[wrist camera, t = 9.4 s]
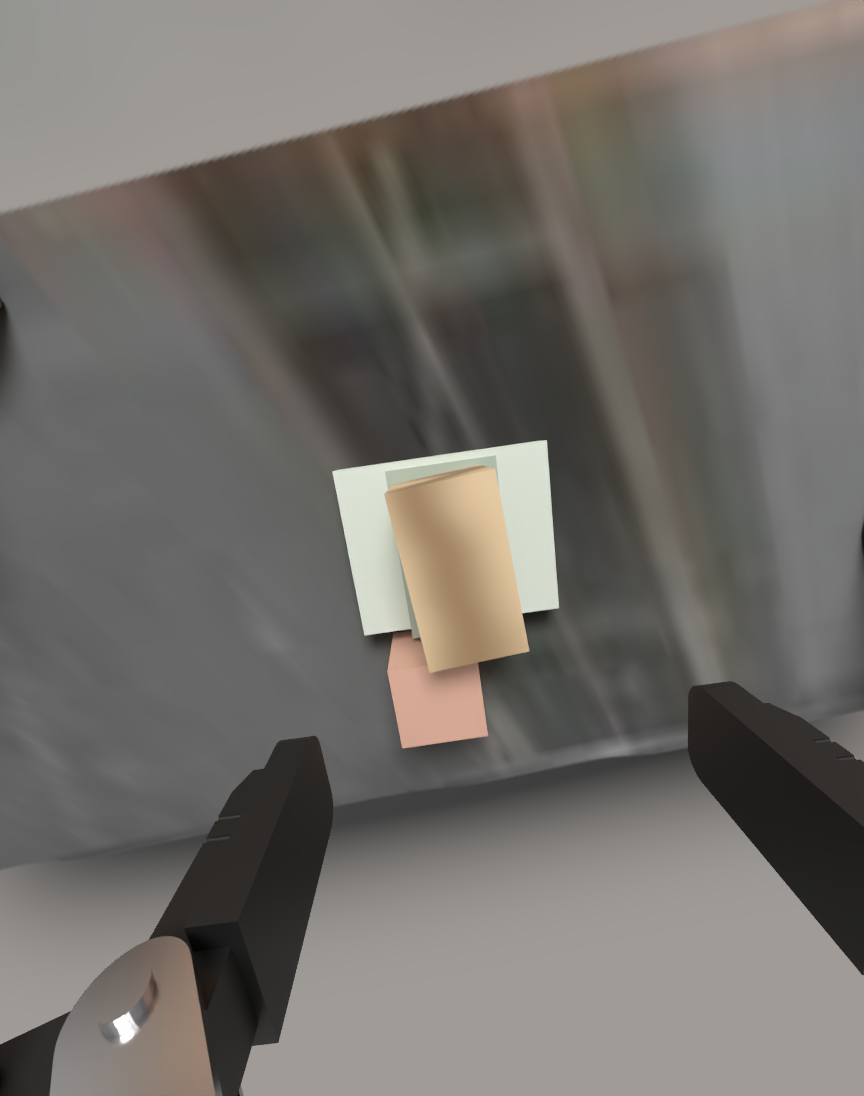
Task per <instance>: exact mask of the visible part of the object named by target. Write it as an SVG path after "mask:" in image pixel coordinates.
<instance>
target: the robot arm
mask: <svg viewBox="0 0 864 1096" xmlns="http://www.w3.org/2000/svg"><path fill="white" fill-rule="evenodd" d="M688 751H689V756H690V760H691V763H692V765H693V768H694V770H695V772H696V774H697V776H698V777H699V779H700V780H701V782H702V783H703V784H704V785H705V787H706V788H707V789H708V790H709V791H710V793H711V794H712V795H713V796H714V797H715V799H716V800H717V801H718V802H719V803H720V804H721V806H722V807H723V808H724V809H725V810H726V812H727V813H728V814H729V815H730V816H731V818H732V819H733V820H734V821H735V823H736V824H737V825H738V826H739V827H740V829H741V830H742V831H743V832H744V833H745V835H746V836H747V837H748V838H749V839H750V841H751V842H752V843H753V844H754V845H755V847H756V848H757V849H758V850H759V851H760V853H761V854H762V855H763V856H764V857H765V858H766V860H767V861H768V862H769V863H770V865H771V866H772V867H773V868H774V869H775V870H776V872H777V873H778V874H779V875H780V877H781V878H782V879H783V880H784V881H785V883H786V884H787V885H788V886H789V887H790V889H791V890H792V891H793V892H794V893H795V895H796V896H797V897H798V898H799V899H800V901H801V902H802V903H803V904H804V905H805V907H806V908H807V909H808V910H809V911H810V913H811V914H812V915H813V916H814V917H815V919H816V920H817V921H818V922H819V923H820V925H821V926H822V927H823V928H824V929H825V931H826V932H827V933H828V934H829V935H830V936H831V938H832V939H833V940H834V941H835V943H836V944H837V945H838V946H839V947H840V949H841V950H842V951H843V952H844V953H845V955H846V956H847V957H848V958H849V959H850V961H851V962H852V963H853V964H854V965H855V967H856V968H857V969H858V970H859V971H860V973H861V974H862V975H864V762H863V761H861V760H856V759H855V758H854V755H853V754H851V753H850V752H849V751H847V750H846V749H844V748H843V747H842V746H840V745H839V744H837V743H836V742H831V741H830V739H829V737H828V736H826V735H825V734H823V733H822V732H821V731H819V730H818V729H816V728H815V727H814V726H812V725H811V724H809V723H808V722H806V721H805V720H804V719H802V718H801V717H798V716H796V715H794V714H792V713H789V712H787V711H785V710H783V709H781V708H778V707H776V706H774V705H772V704H769V703H762V702H761V701H760V700H758V699H757V698H756V697H754V696H753V695H752V694H750V693H749V692H748V691H746V690H745V689H744V688H742V687H741V686H740V685H738V684H736V683H734V682H731V681H729V682H721V683H714V684H706V685H699V686H693V687H692V688H691V689H690V691H689V696H688ZM218 817H219V819H218V821H216V822H215V823H214V825H213V827H212V829H211V831H210V832H209V834H208V836H207V841H206V843H203V845H202V847H201V848H200V850H199V852H198V854H197V855H196V857H195V859H194V861H193V863H192V864H191V866H190V868H189V870H188V871H187V873H186V875H185V877H184V879H183V880H182V882H181V884H180V886H179V887H178V889H177V891H176V893H175V895H174V896H173V898H172V900H171V902H170V903H169V905H168V907H167V909H166V910H165V912H164V914H163V916H162V918H161V919H160V921H159V923H158V925H157V926H156V928H155V930H154V932H153V934H152V935H151V937H150V939H149V940H147V941H145V942H143V943H141V944H139V945H137V946H135V947H134V948H132V949H130V950H129V951H127V952H126V953H124V954H123V955H122V956H120V957H119V958H118V959H116V960H115V961H114V962H113V963H111V964H110V965H109V966H108V967H107V968H106V969H105V970H104V971H103V972H102V973H101V974H100V975H99V976H98V977H97V978H96V979H95V980H94V981H93V982H92V983H91V984H90V986H89V987H88V988H87V989H86V990H85V991H84V993H83V994H82V996H81V997H80V998H79V1000H78V1001H77V1002H76V1004H75V1005H74V1007H73V1009H72V1011H70V1012H68V1013H66V1014H64V1015H62V1016H60V1017H58V1018H55V1019H54V1020H51V1021H49V1022H47V1023H45V1024H43V1025H41V1026H39V1027H37V1028H35V1029H32V1030H30V1031H28V1032H26V1033H24V1034H22V1035H20V1036H17V1037H15V1038H13V1039H11V1040H9V1041H7V1042H5V1043H3V1044H0V1096H244V1095H243V1091H242V1088H241V1082H242V1078H243V1075H244V1071H245V1068H246V1064H247V1061H248V1057H249V1054H250V1050H251V1047H252V1046H255V1045H264V1044H272V1043H278V1042H279V1037H280V1034H281V1030H282V1026H283V1021H284V1017H285V1013H286V1009H287V1005H288V1001H289V997H290V993H291V989H292V985H293V981H294V977H295V973H296V969H297V964H298V961H299V957H300V953H301V949H302V945H303V941H304V936H305V932H306V929H307V924H308V920H309V916H310V912H311V908H312V904H313V900H314V896H315V892H316V888H317V884H318V880H319V876H320V872H321V868H322V864H323V860H324V856H325V852H326V848H327V844H328V840H329V836H330V831H331V827H332V819H333V799H332V793H331V788H330V784H329V780H328V776H327V772H326V767H325V763H324V759H323V755H322V751H321V746H320V743H319V740H318V738H317V737H316V736H310V737H303V738H295V739H288V740H281V741H279V742H278V743H277V745H276V746H275V748H274V750H273V752H272V754H271V756H270V758H269V760H268V762H267V764H266V766H265V768H264V769H259V770H253V771H252V772H251V773H250V774H249V775H248V776H247V777H246V778H245V779H244V780H243V781H242V782H241V783H240V785H239V786H238V787H237V788H236V789H235V790H234V791H233V792H232V793H231V795H230V797H229V799H228V800H227V802H226V804H225V806H224V807H223V809H222V811H221V813H220V815H219V816H218Z"/></svg>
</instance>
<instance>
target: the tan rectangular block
mask: <svg viewBox="0 0 864 1096" xmlns="http://www.w3.org/2000/svg"><path fill="white" fill-rule="evenodd" d="M384 496H385V500H386V504H387V508H388V512H389V515H390V519H391V523H392V527H393V531H394V535H395V539H396V543H397V547H398V551H399V555H400V559H401V563H402V567H403V570H404V574H405V578H406V582H407V586H408V590H409V594H410V598H411V602H412V606H413V610H414V614H415V618H416V622H417V625H418V629H419V633H420V637H421V641H422V645H423V649H424V653H425V657H426V661H427V665H428V669H429V673H431V672H436V671H441V670H445V669H450V668H455V667H459V666H464V665H468V664H473V663H478V662H482V661H487V660H491V659H496V658H501V657H505V656H510V655H514V654H519V653H524V652H528V651H529V647H528V642H527V636H526V631H525V626H524V620H523V615H522V610H521V604H520V599H519V594H518V588H517V583H516V578H515V572H514V567H513V562H512V556H511V551H510V546H509V540H508V535H507V530H506V524H505V519H504V514H503V508H502V503H501V498H500V492H499V487H498V482H497V476H496V471H495V468H491V467H487V466H483V465H480V464H479V465H475V466H471V467H467V468H462V469H458V470H454V471H449V472H445V473H441V474H436V475H432V476H428V477H423V478H419V479H415V480H410V481H406V482H402V483H397V484H393V485H392V486H391V487H390V488H389V489H388V490H387V491H386V493H385V494H384Z"/></svg>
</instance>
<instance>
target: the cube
mask: <svg viewBox="0 0 864 1096" xmlns="http://www.w3.org/2000/svg"><path fill="white" fill-rule="evenodd" d="M388 677H389V682H390V687H391V692H392V697H393V703H394V708H395V713H396V718H397V723H398V728H399V733H400V738H401V744H402V748H409V747H416V746H423V745H430V744H436V743H443V742H450V741H457V740H464V739H471V738H477V737H484V736H488V733H487V726H486V718H485V711H484V704H483V696H482V689H481V681H480V674H479V667H478V663H473V664H468V665H464V666H459V667H455V668H450V669H445V670H441V671H436V672H431V673H429V669H428V665H427V661H426V657H425V653H424V649H423V645H422V641H421V637H420V638H413V637H412V631H411V630H408V631H402V632H395V633H393V639H392V645H391V652H390V658H389V665H388Z"/></svg>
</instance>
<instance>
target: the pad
mask: <svg viewBox="0 0 864 1096" xmlns="http://www.w3.org/2000/svg"><path fill="white" fill-rule="evenodd" d="M479 464H480V465H483V466H487V467H491V468H495V471H496V476H497V482H498V487H499V492H500V498H501V503H502V508H503V514H504V519H505V524H506V530H507V535H508V540H509V546H510V551H511V556H512V562H513V567H514V572H515V578H516V583H517V588H518V594H519V599H520V604H521V610H522V613H527V612H534V611H542V610H549V609H556V608H559V603H558V589H557V575H556V562H555V548H554V534H553V520H552V507H551V493H550V479H549V465H548V451H547V440H545V441H534V442H527V443H520V444H513V445H506V446H499V447H492V448H485V449H479V450H472V451H465V452H458V453H451V454H444V455H437V456H430V457H424V458H417V459H410V460H403V461H396V462H389V463H382V464H375V465H368V466H362V467H355V468H348V469H341V470H336V471H332V472H333V477H334V482H335V487H336V492H337V497H338V502H339V507H340V513H341V518H342V523H343V528H344V533H345V538H346V543H347V548H348V553H349V559H350V564H351V569H352V574H353V579H354V584H355V589H356V594H357V599H358V605H359V610H360V615H361V620H362V625H363V630H364V635H371V634H378V633H385V632H393V631H400V630H407V629H411V631H412V637H413V638H420V633H419V629H418V625H417V622H416V618H415V614H414V610H413V606H412V602H411V598H410V594H409V590H408V586H407V582H406V578H405V574H404V570H403V567H402V563H401V559H400V555H399V551H398V547H397V543H396V539H395V535H394V531H393V527H392V523H391V519H390V515H389V512H388V508H387V504H386V500H385V496H384V494H385V493H386V491H387V490H388V489H389V488H390V487H391V486H392V485H393V484H397V483H402V482H406V481H410V480H415V479H419V478H423V477H428V476H432V475H436V474H441V473H445V472H449V471H454V470H458V469H462V468H467V467H471V466H475V465H479Z"/></svg>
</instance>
